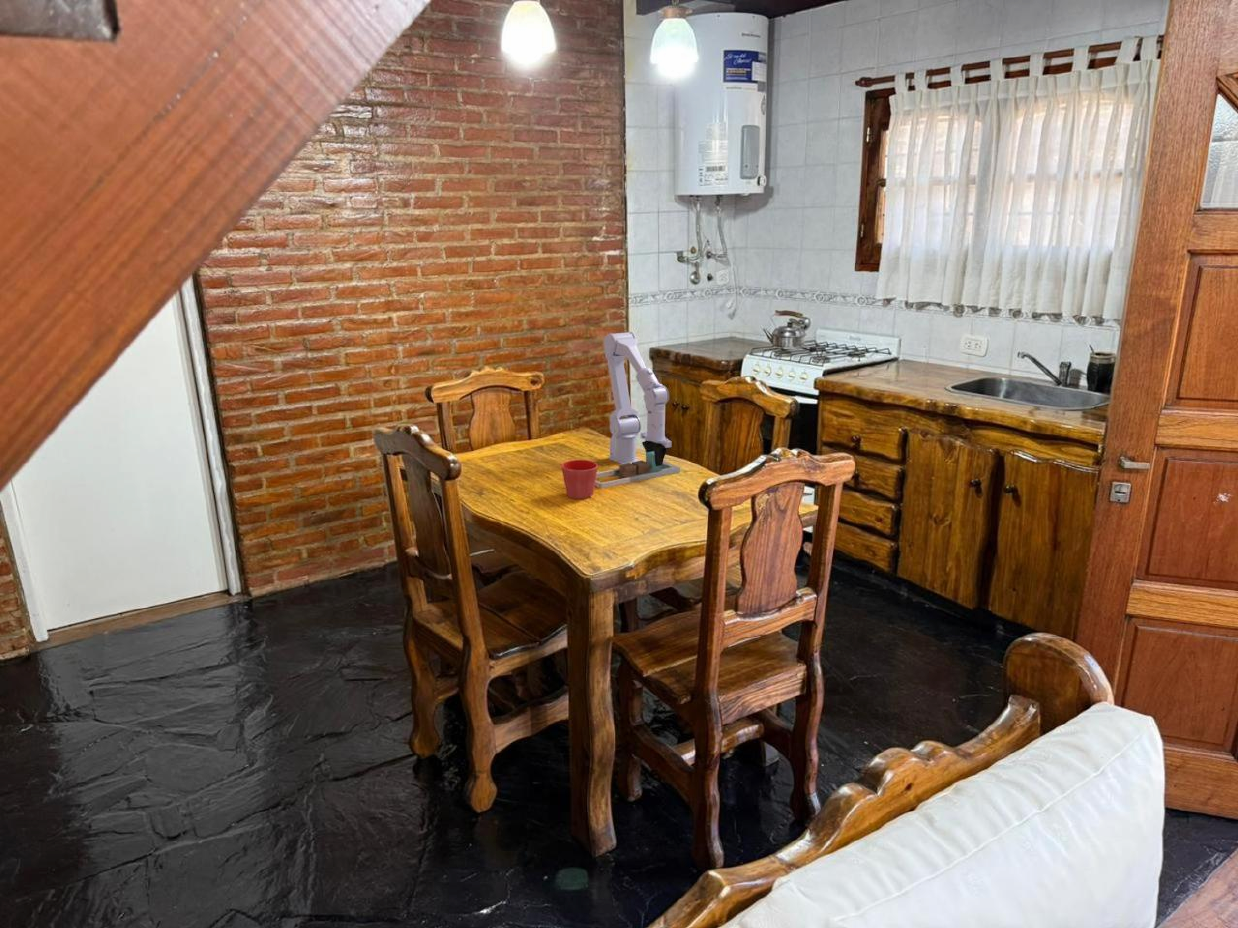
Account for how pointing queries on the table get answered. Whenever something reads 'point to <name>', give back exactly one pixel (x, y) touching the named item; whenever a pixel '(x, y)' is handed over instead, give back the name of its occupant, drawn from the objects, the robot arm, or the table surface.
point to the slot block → (652, 472)
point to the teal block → (652, 461)
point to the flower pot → (579, 478)
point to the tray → (610, 483)
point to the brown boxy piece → (626, 470)
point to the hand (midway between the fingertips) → (655, 463)
